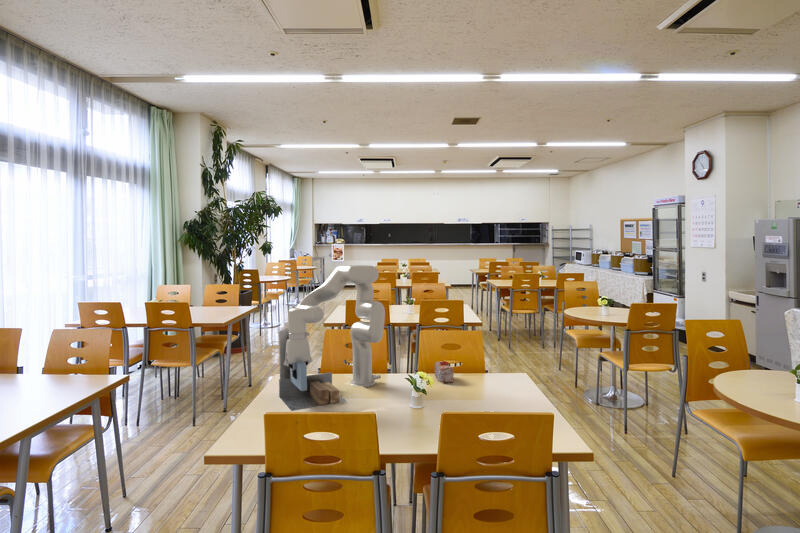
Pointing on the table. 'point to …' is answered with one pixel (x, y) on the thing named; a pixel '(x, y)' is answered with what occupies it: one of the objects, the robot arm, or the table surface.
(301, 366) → the sheet
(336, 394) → the offcut short
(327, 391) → the offcut tall
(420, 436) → the table surface
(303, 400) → the rack
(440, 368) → the food item
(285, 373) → the brochure
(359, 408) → the table surface
